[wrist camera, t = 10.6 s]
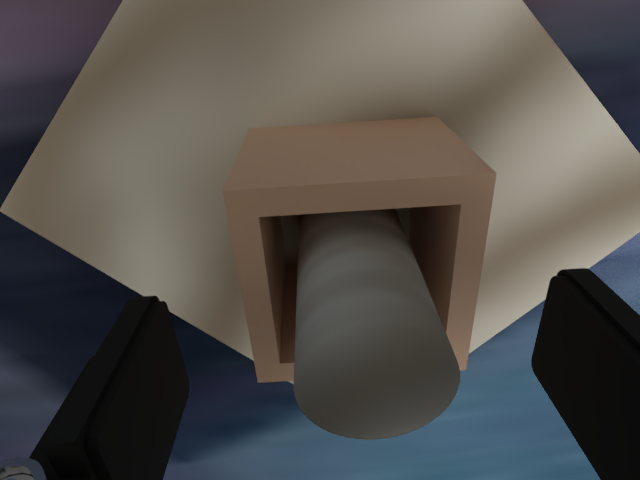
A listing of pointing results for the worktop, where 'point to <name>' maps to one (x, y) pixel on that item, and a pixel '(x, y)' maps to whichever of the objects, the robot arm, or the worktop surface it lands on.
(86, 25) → the worktop surface
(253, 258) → the collar
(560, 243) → the base
